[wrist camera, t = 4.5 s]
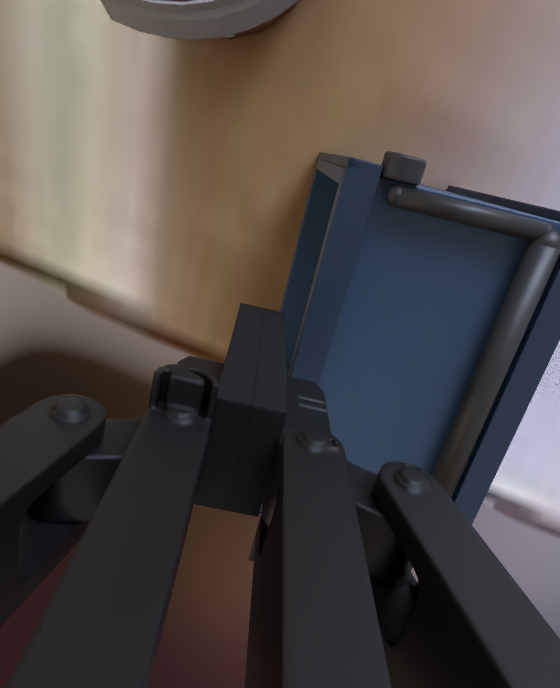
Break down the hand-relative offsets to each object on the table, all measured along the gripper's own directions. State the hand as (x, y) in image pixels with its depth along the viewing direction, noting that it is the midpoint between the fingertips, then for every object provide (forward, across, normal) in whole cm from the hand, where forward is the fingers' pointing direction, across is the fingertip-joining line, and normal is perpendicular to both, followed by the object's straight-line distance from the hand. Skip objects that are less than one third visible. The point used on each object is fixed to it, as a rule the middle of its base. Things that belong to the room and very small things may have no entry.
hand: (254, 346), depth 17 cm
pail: (+12, +5, 0) cm, 13 cm away
